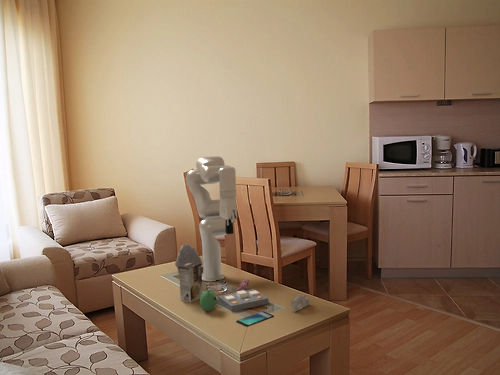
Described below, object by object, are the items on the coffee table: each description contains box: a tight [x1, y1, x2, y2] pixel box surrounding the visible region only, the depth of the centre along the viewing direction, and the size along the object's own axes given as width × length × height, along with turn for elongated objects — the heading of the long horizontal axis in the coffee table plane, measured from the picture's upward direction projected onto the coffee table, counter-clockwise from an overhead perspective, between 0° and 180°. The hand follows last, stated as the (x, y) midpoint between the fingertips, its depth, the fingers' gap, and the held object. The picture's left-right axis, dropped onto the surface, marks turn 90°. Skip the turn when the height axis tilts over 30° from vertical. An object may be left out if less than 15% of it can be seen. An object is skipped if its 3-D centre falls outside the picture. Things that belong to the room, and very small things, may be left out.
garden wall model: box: [290, 293, 311, 313], centre depth 198 cm, size 12×2×6 cm, turn 139°
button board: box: [217, 288, 270, 312], centre depth 207 cm, size 14×18×3 cm
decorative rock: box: [174, 243, 203, 271], centre depth 259 cm, size 16×7×15 cm, turn 118°
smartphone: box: [235, 310, 275, 328], centre depth 188 cm, size 7×1×15 cm
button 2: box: [248, 289, 260, 296], centre depth 210 cm, size 4×4×3 cm
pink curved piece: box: [234, 278, 251, 293], centre depth 221 cm, size 10×5×7 cm, turn 169°
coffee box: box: [178, 262, 204, 304], centre depth 213 cm, size 9×6×16 cm
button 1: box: [224, 295, 235, 301], centre depth 205 cm, size 4×4×3 cm
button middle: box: [236, 290, 247, 299], centre depth 207 cm, size 4×4×3 cm
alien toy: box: [199, 286, 219, 312], centre depth 198 cm, size 7×8×10 cm
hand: (229, 233), depth 214 cm, fingers closed
